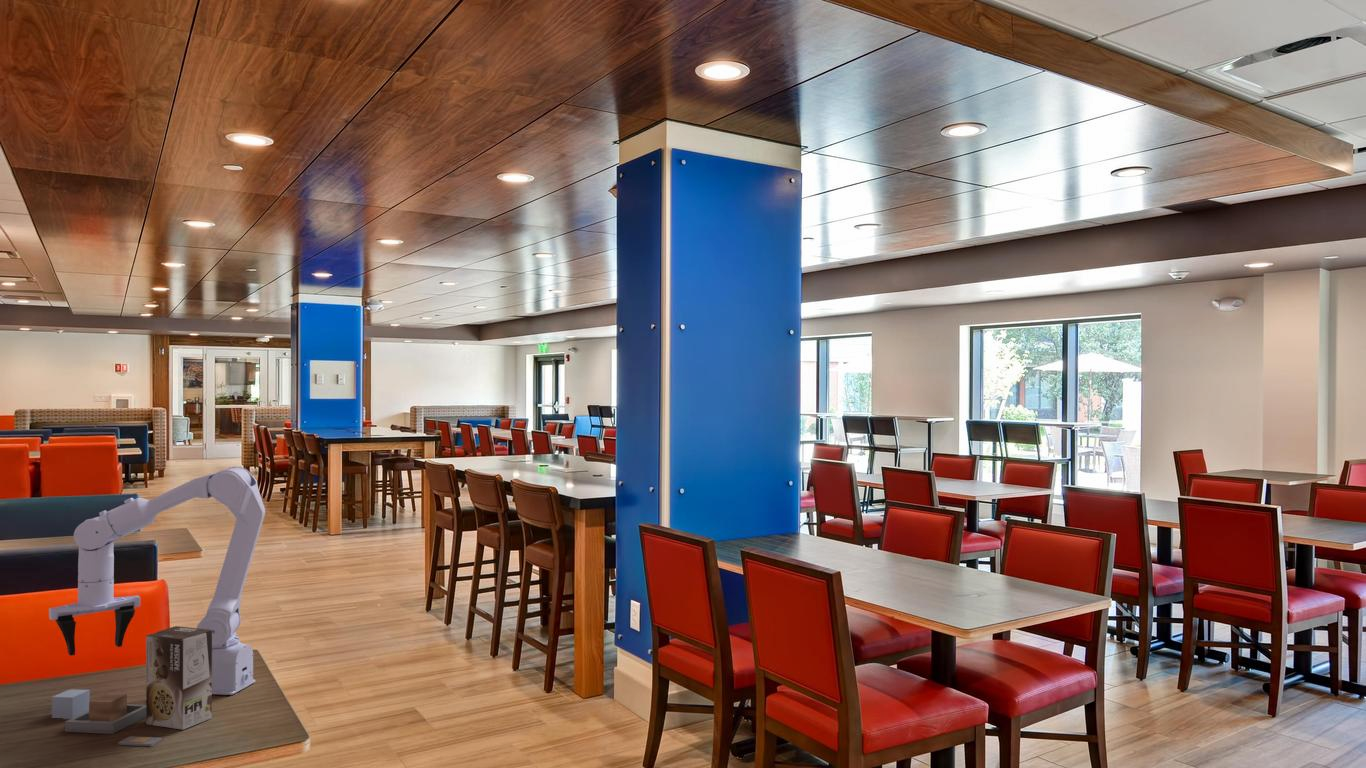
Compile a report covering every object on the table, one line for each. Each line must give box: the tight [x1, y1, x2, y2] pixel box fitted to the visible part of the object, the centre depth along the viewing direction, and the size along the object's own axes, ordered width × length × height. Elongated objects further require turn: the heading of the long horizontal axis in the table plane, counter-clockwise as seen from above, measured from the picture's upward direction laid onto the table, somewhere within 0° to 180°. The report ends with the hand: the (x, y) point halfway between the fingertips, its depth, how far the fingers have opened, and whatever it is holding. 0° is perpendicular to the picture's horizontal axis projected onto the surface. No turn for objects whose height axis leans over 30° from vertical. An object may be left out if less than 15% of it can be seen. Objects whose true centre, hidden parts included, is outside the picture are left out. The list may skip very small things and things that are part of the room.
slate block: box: [51, 688, 91, 720], centre depth 157 cm, size 4×4×4 cm
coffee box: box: [145, 625, 213, 731], centre depth 154 cm, size 9×6×16 cm
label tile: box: [117, 735, 164, 747], centre depth 144 cm, size 6×3×1 cm, turn 84°
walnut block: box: [89, 693, 128, 722], centre depth 153 cm, size 4×4×4 cm
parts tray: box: [64, 703, 146, 735], centre depth 153 cm, size 9×9×2 cm
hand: (95, 650), depth 165 cm, fingers open, 7 cm apart
